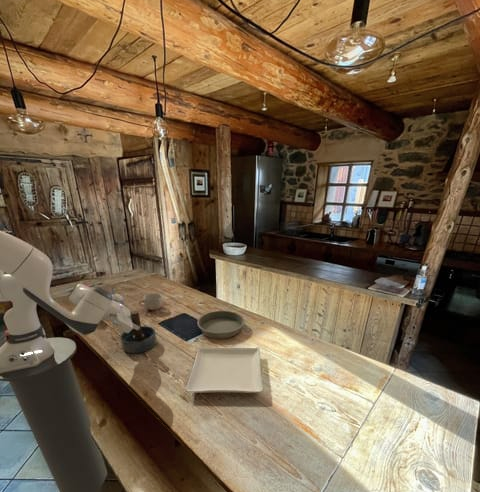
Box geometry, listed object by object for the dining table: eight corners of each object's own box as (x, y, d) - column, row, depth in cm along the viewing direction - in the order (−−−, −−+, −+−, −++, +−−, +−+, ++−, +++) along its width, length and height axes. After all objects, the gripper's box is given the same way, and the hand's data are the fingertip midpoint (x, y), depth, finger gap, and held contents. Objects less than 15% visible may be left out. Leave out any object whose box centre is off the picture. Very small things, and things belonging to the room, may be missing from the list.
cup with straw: (107, 316, 154) (100, 287, 146) (123, 311, 159) (117, 283, 152) (113, 321, 148) (106, 291, 140) (129, 316, 153) (123, 287, 146)
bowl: (126, 358, 116) (123, 346, 114) (120, 342, 128) (117, 331, 125) (160, 347, 123) (159, 336, 121) (151, 333, 135) (149, 323, 133)
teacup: (161, 303, 170) (160, 291, 167) (165, 309, 161) (163, 297, 158) (138, 307, 165) (136, 295, 161) (141, 314, 156) (138, 302, 152)
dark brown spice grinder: (136, 346, 121) (129, 315, 114) (134, 342, 124) (127, 311, 118) (146, 343, 123) (140, 312, 117) (144, 339, 127) (138, 309, 120)
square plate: (259, 354, 118) (259, 346, 116) (262, 399, 93) (263, 391, 91) (198, 354, 118) (198, 346, 117) (185, 398, 93) (184, 390, 92)
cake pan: (204, 345, 125) (204, 336, 123) (193, 322, 146) (192, 315, 144) (252, 334, 133) (252, 326, 131) (234, 314, 154) (234, 307, 152)
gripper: (115, 314, 104) (145, 331, 112) (114, 296, 121) (140, 312, 129) (105, 327, 104) (136, 342, 112) (105, 307, 121) (131, 322, 129)
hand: (138, 326), depth 120 cm, fingers closed on dark brown spice grinder, 3 cm apart
